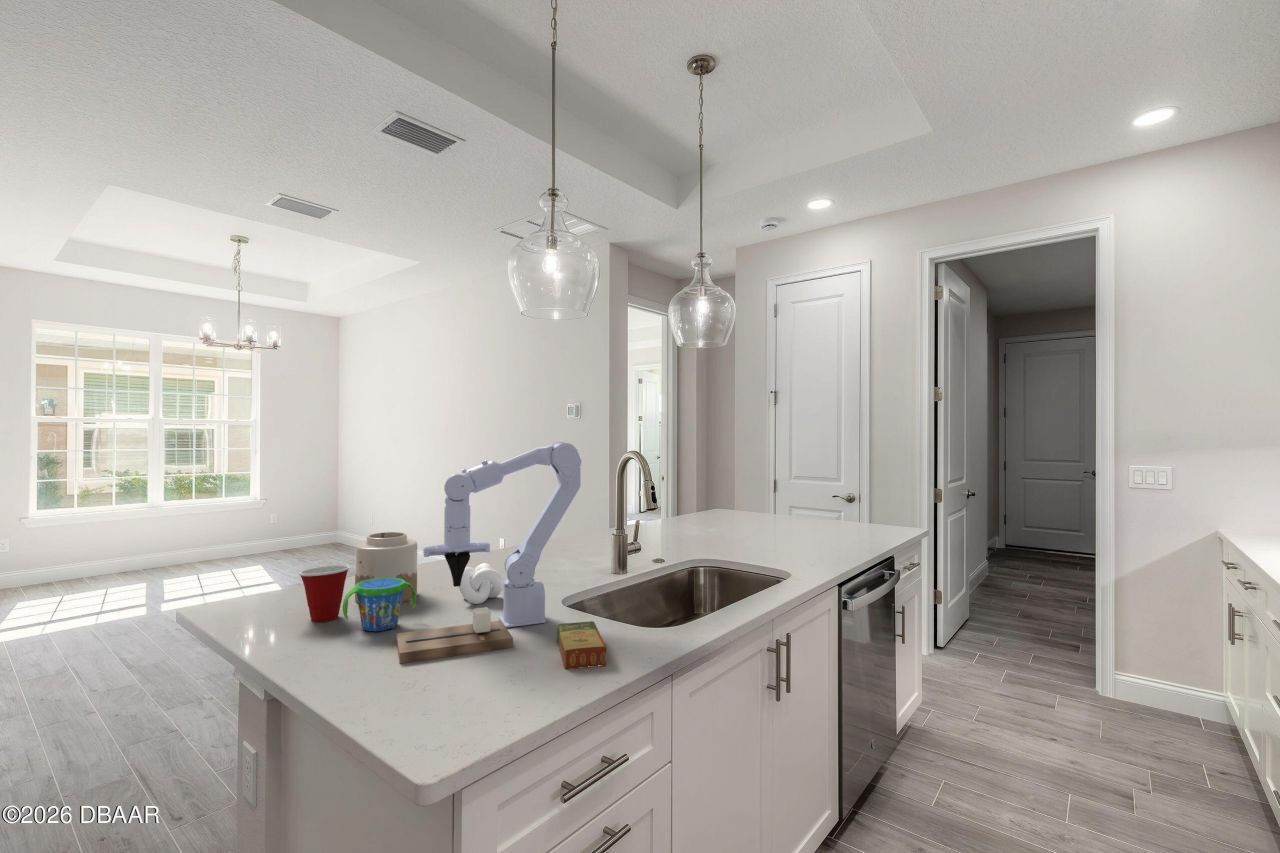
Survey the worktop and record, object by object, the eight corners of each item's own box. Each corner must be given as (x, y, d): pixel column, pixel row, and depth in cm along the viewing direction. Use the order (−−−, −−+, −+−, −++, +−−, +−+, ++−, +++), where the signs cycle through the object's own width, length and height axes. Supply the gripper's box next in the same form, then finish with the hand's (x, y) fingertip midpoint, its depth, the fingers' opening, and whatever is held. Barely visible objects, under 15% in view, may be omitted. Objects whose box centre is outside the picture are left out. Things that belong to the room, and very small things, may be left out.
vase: (403, 606, 153) (403, 540, 153) (343, 605, 154) (344, 540, 154) (425, 590, 169) (426, 530, 169) (371, 589, 169) (371, 529, 169)
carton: (563, 671, 115) (563, 649, 115) (556, 642, 131) (556, 622, 131) (606, 667, 117) (606, 645, 117) (594, 638, 132) (594, 619, 132)
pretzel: (508, 593, 166) (508, 561, 166) (498, 607, 154) (498, 572, 154) (466, 593, 166) (467, 561, 166) (453, 606, 154) (454, 571, 154)
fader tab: (487, 625, 132) (487, 607, 132) (490, 631, 128) (490, 612, 128) (472, 627, 130) (473, 608, 130) (475, 633, 127) (476, 614, 127)
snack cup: (410, 615, 146) (410, 573, 146) (421, 627, 137) (421, 583, 137) (339, 626, 138) (339, 582, 138) (345, 640, 129) (346, 593, 129)
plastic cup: (334, 608, 151) (334, 560, 151) (358, 616, 145) (359, 566, 145) (289, 619, 142) (289, 569, 142) (313, 628, 136) (314, 575, 136)
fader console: (501, 629, 137) (501, 619, 137) (512, 647, 126) (512, 636, 126) (396, 642, 128) (396, 631, 128) (399, 663, 117) (399, 651, 117)
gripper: (425, 531, 132) (424, 593, 132) (492, 527, 138) (492, 586, 138) (422, 526, 138) (422, 585, 138) (486, 522, 144) (486, 579, 144)
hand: (456, 585), depth 139 cm, fingers closed
